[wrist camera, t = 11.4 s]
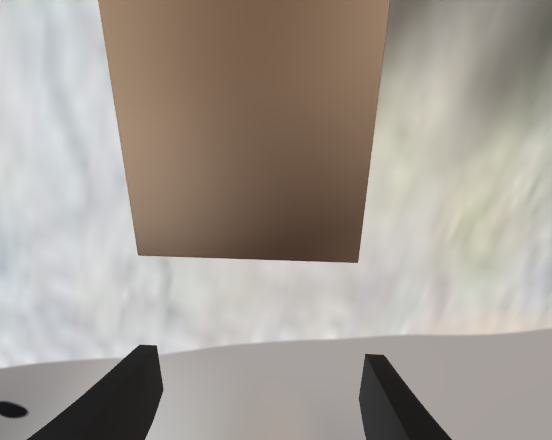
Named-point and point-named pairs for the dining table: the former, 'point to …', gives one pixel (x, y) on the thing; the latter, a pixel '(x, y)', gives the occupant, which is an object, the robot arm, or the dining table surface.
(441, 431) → the robot arm
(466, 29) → the dining table surface
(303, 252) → the walnut block
